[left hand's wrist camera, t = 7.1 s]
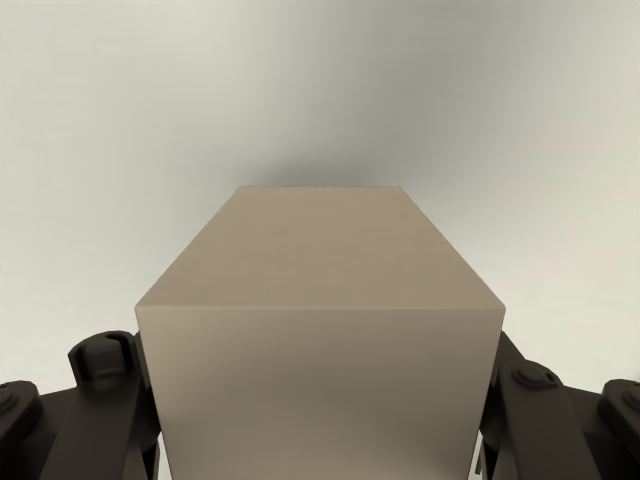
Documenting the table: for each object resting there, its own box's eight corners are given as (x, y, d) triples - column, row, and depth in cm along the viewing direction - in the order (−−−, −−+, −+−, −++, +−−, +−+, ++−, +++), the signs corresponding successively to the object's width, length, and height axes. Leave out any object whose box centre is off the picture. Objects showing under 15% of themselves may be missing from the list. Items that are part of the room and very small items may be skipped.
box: (239, 186, 14) (132, 306, 6) (400, 186, 14) (508, 306, 6) (267, 525, 21) (236, 777, 13) (371, 525, 21) (401, 777, 13)
